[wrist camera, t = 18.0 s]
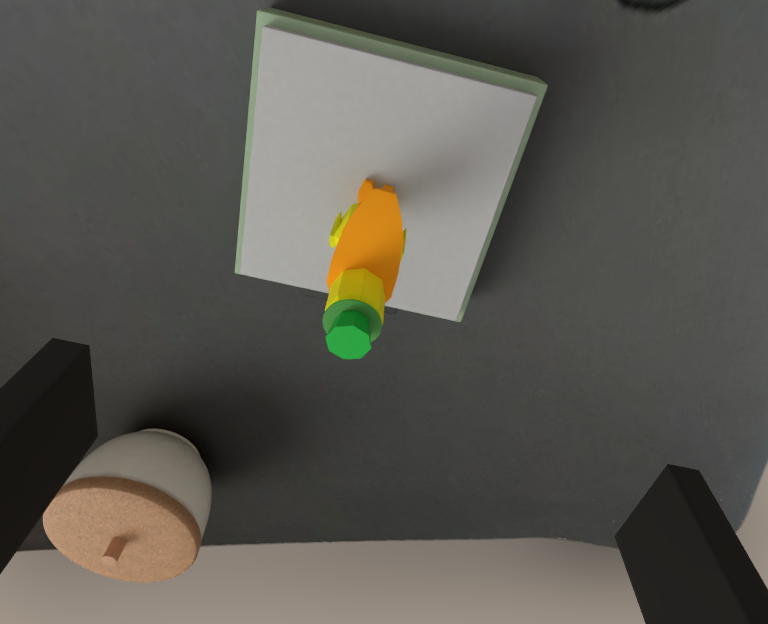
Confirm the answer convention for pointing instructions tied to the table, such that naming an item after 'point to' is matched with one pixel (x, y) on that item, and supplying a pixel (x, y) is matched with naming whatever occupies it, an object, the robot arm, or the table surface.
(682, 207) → the table surface
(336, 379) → the table surface
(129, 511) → the trinket box
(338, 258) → the toy figure
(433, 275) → the kitchen scale
